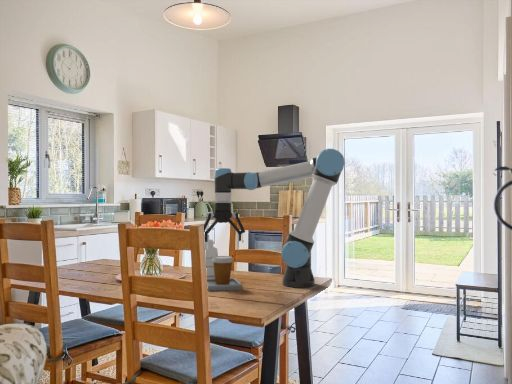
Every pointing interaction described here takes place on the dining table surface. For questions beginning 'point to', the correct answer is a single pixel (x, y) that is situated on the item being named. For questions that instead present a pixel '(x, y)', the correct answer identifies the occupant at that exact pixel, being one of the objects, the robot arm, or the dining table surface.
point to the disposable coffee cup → (222, 269)
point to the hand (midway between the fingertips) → (222, 248)
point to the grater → (210, 259)
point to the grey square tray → (232, 285)
